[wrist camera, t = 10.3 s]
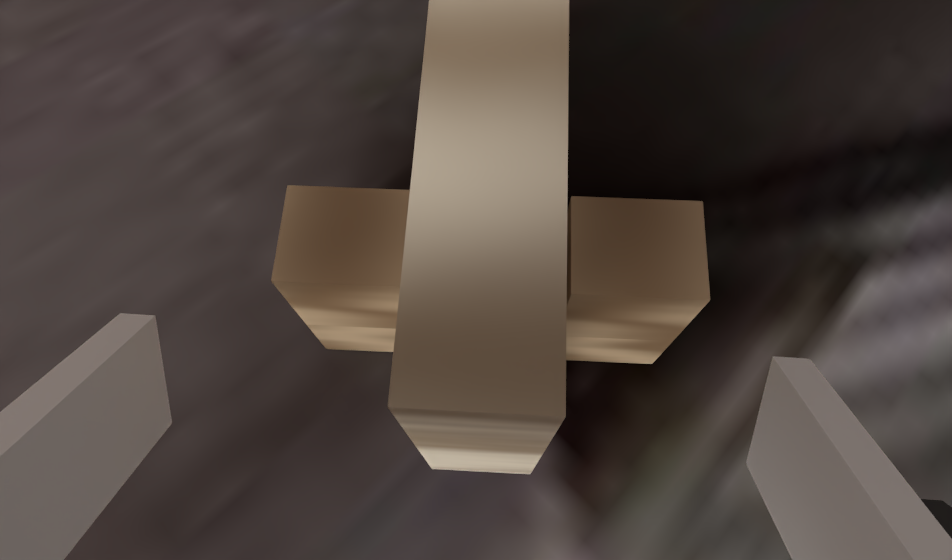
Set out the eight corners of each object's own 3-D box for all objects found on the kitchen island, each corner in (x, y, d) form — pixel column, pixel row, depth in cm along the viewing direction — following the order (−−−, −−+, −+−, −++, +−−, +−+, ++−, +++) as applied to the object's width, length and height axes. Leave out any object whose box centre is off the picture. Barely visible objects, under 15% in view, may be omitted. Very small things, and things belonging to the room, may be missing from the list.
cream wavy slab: (530, 474, 21) (566, 416, 11) (432, 468, 21) (387, 407, 12) (539, 135, 25) (569, -106, 16) (457, 133, 25) (440, -109, 16)
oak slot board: (648, 287, 26) (702, 200, 20) (651, 363, 25) (710, 299, 19) (336, 273, 27) (287, 185, 20) (326, 348, 25) (271, 281, 19)
